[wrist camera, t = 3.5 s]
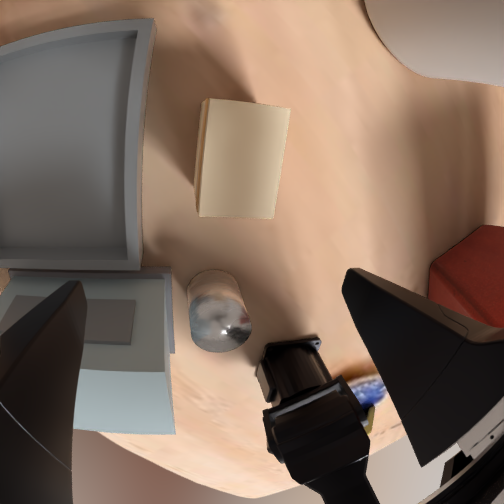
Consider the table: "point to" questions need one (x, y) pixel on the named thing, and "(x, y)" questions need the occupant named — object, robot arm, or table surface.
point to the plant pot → (472, 277)
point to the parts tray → (74, 146)
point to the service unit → (112, 343)
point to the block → (239, 158)
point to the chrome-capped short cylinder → (217, 312)
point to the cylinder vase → (444, 37)
